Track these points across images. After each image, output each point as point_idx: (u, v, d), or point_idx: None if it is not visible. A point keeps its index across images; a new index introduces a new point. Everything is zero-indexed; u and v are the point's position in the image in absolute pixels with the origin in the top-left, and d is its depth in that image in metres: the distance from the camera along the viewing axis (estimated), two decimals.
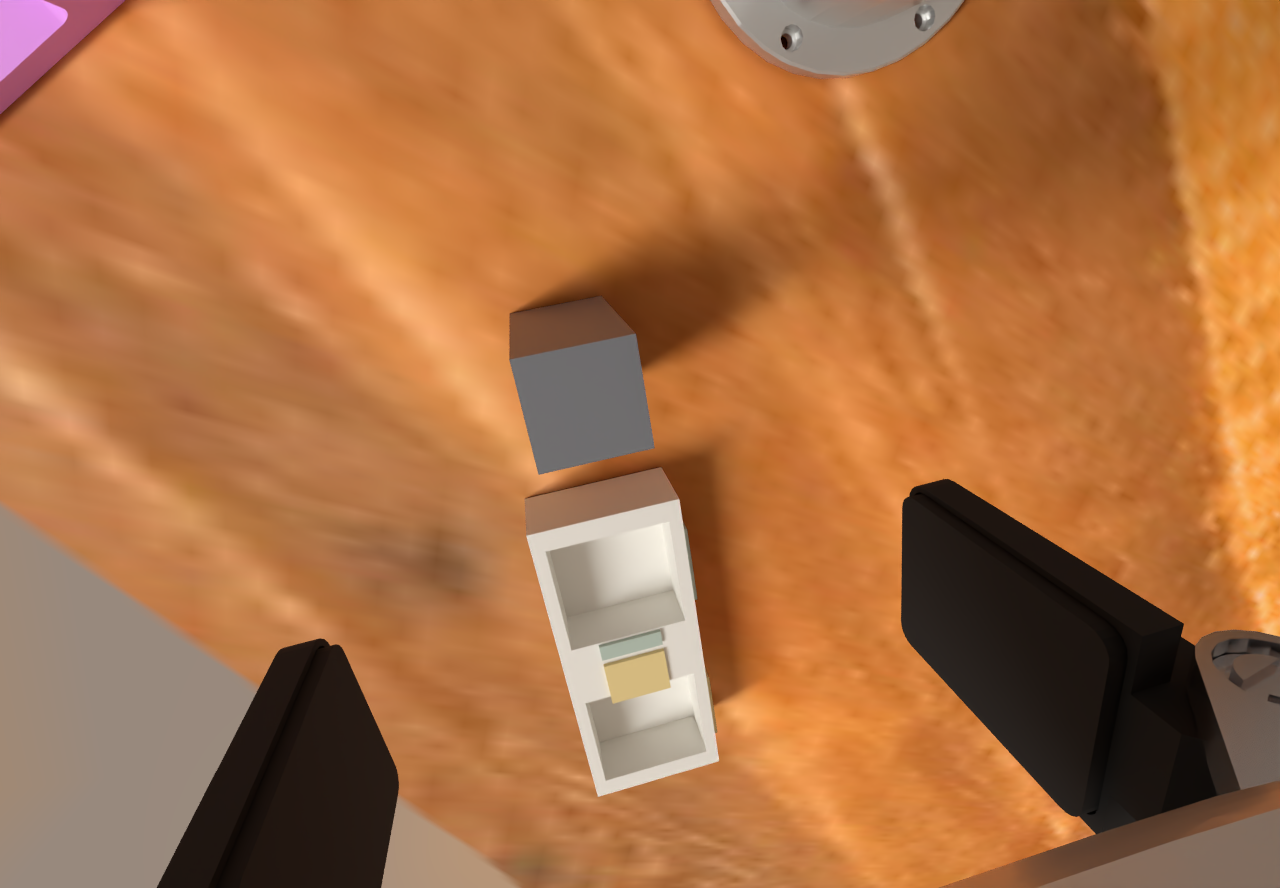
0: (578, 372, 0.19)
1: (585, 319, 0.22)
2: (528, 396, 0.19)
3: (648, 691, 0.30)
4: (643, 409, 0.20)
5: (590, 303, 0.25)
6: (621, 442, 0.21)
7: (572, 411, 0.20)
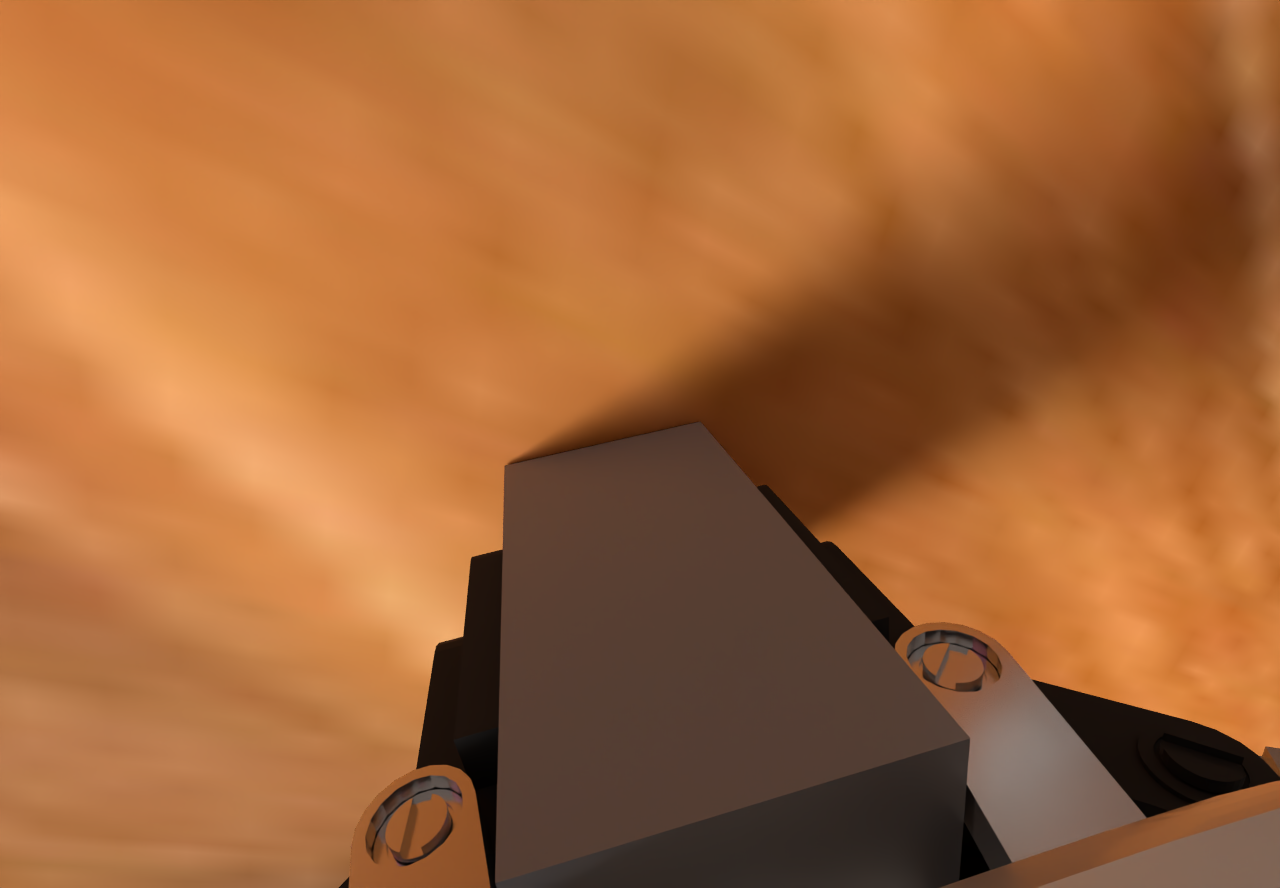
0: (752, 873, 0.05)
1: (706, 545, 0.08)
2: None
3: None
4: None
5: (687, 453, 0.11)
6: None
7: None
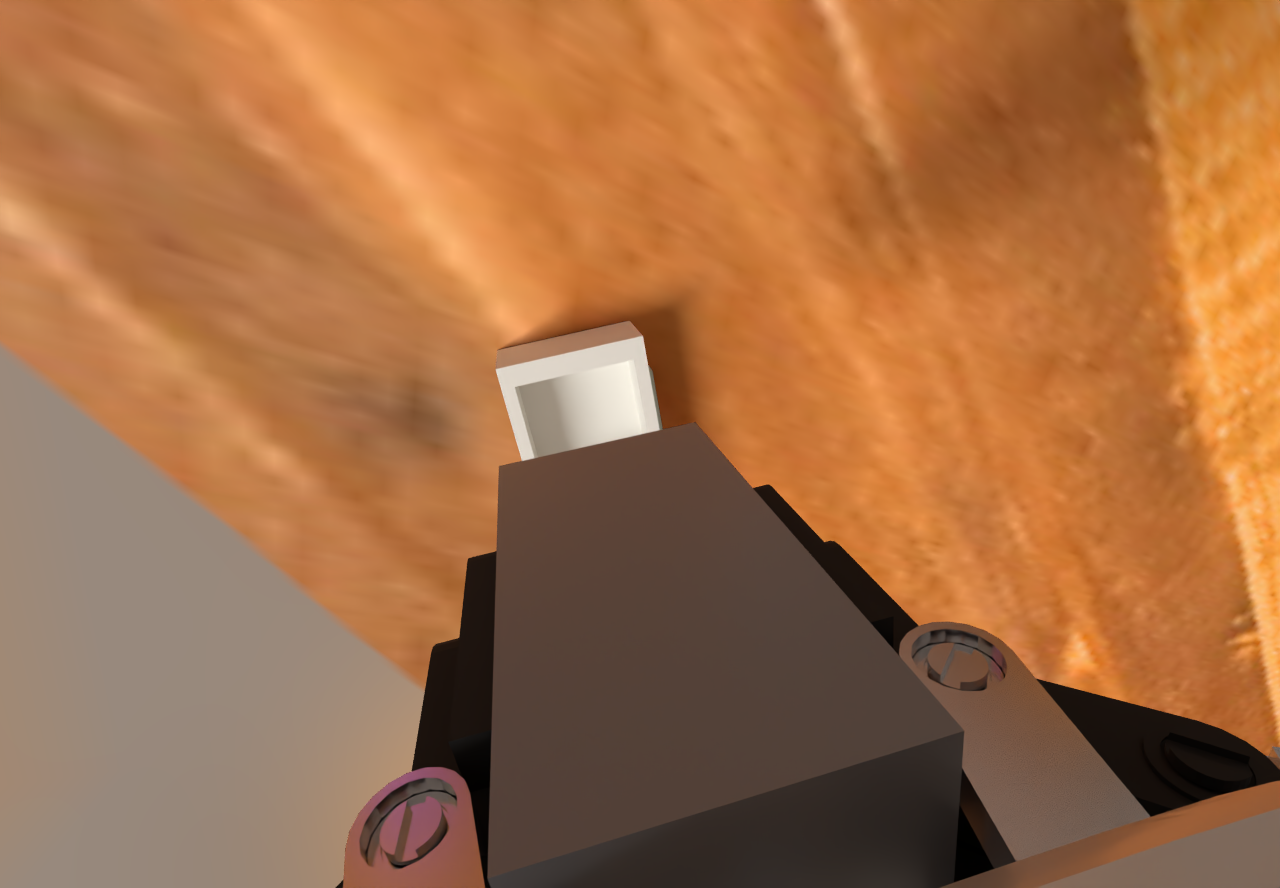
0: (747, 867, 0.05)
1: (700, 543, 0.08)
2: None
3: None
4: None
5: (682, 453, 0.11)
6: None
7: None
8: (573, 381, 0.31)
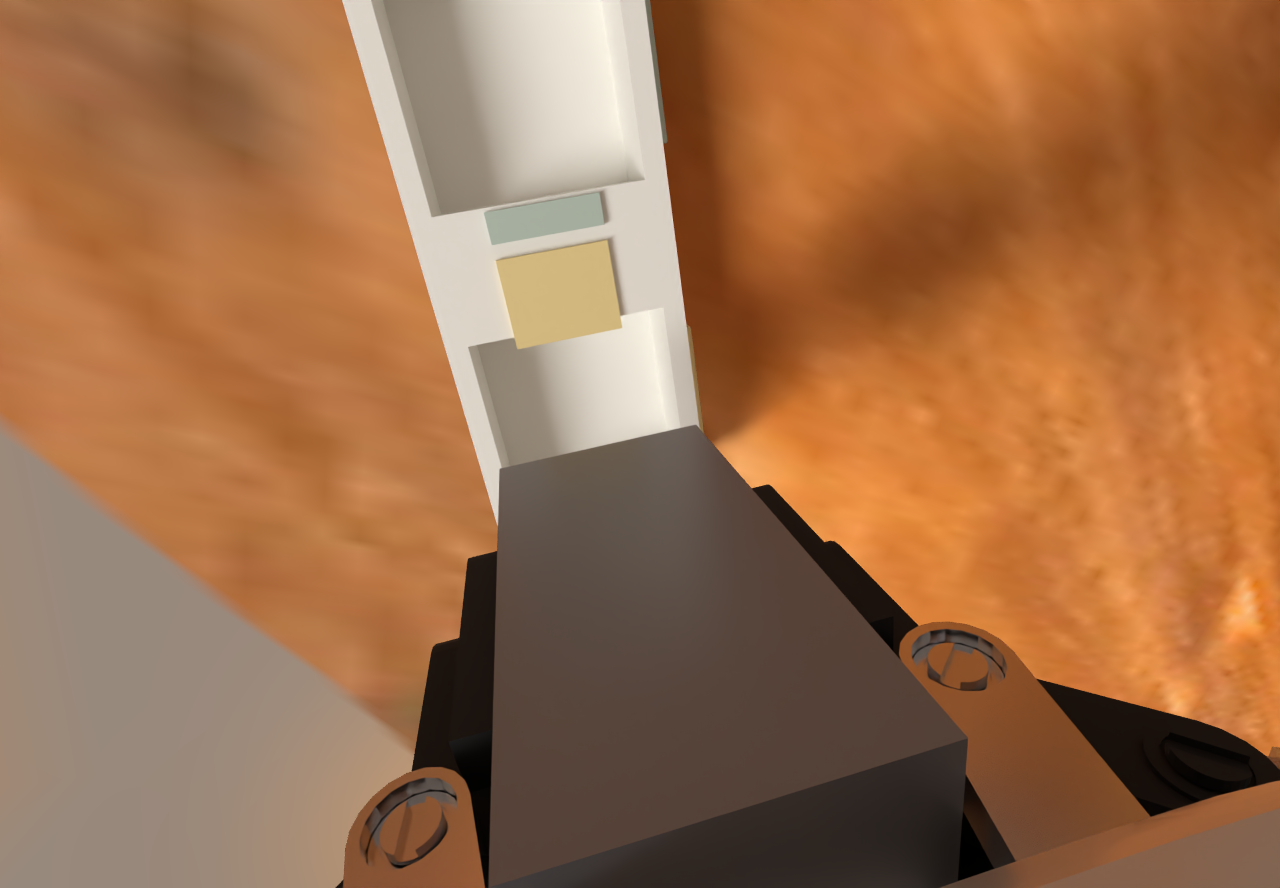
0: (748, 876, 0.05)
1: (702, 547, 0.08)
2: None
3: (582, 330, 0.17)
4: None
5: (683, 455, 0.11)
6: None
7: None
8: (495, 20, 0.16)
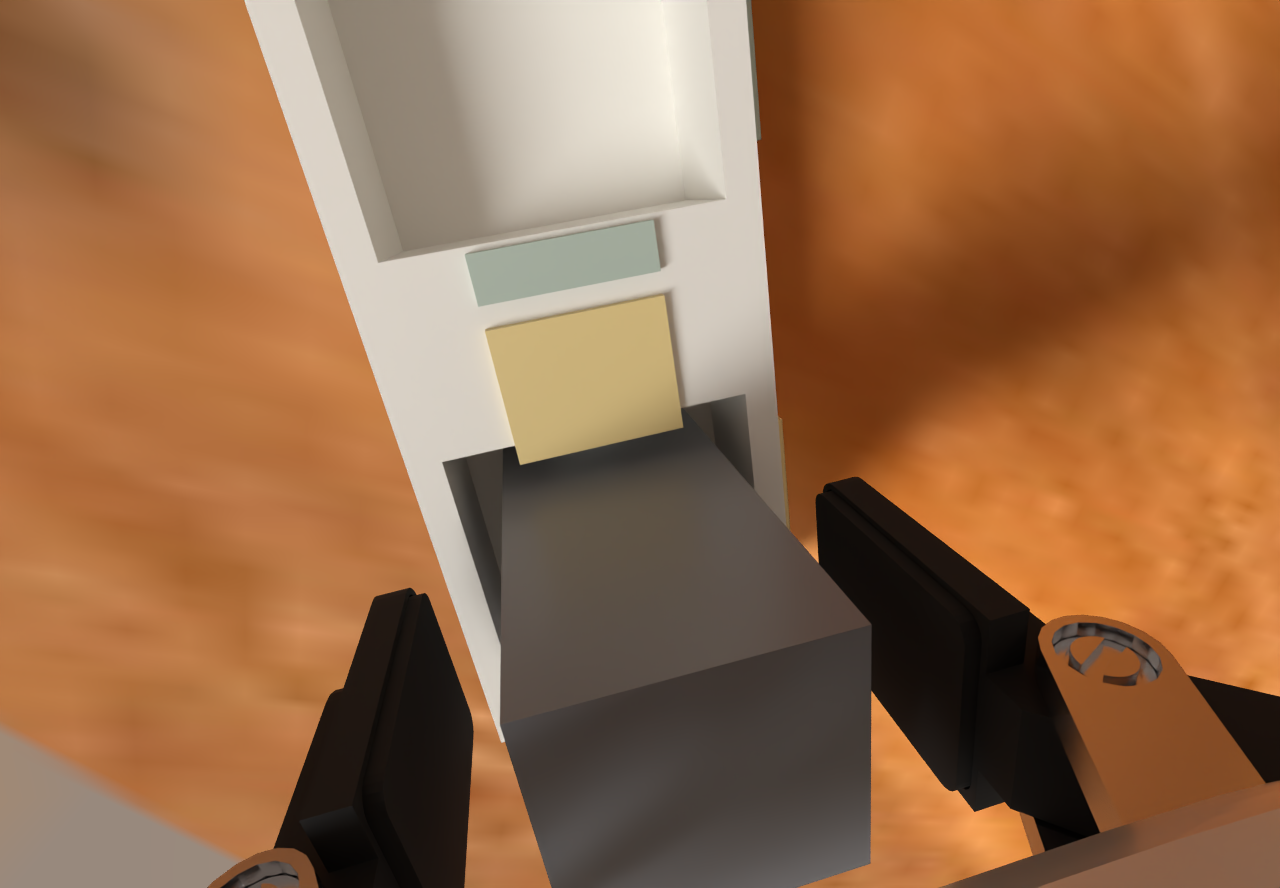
0: (701, 731, 0.07)
1: (677, 498, 0.10)
2: (553, 804, 0.07)
3: (621, 433, 0.11)
4: (859, 792, 0.08)
5: None
6: (793, 865, 0.08)
7: (674, 821, 0.07)
8: None
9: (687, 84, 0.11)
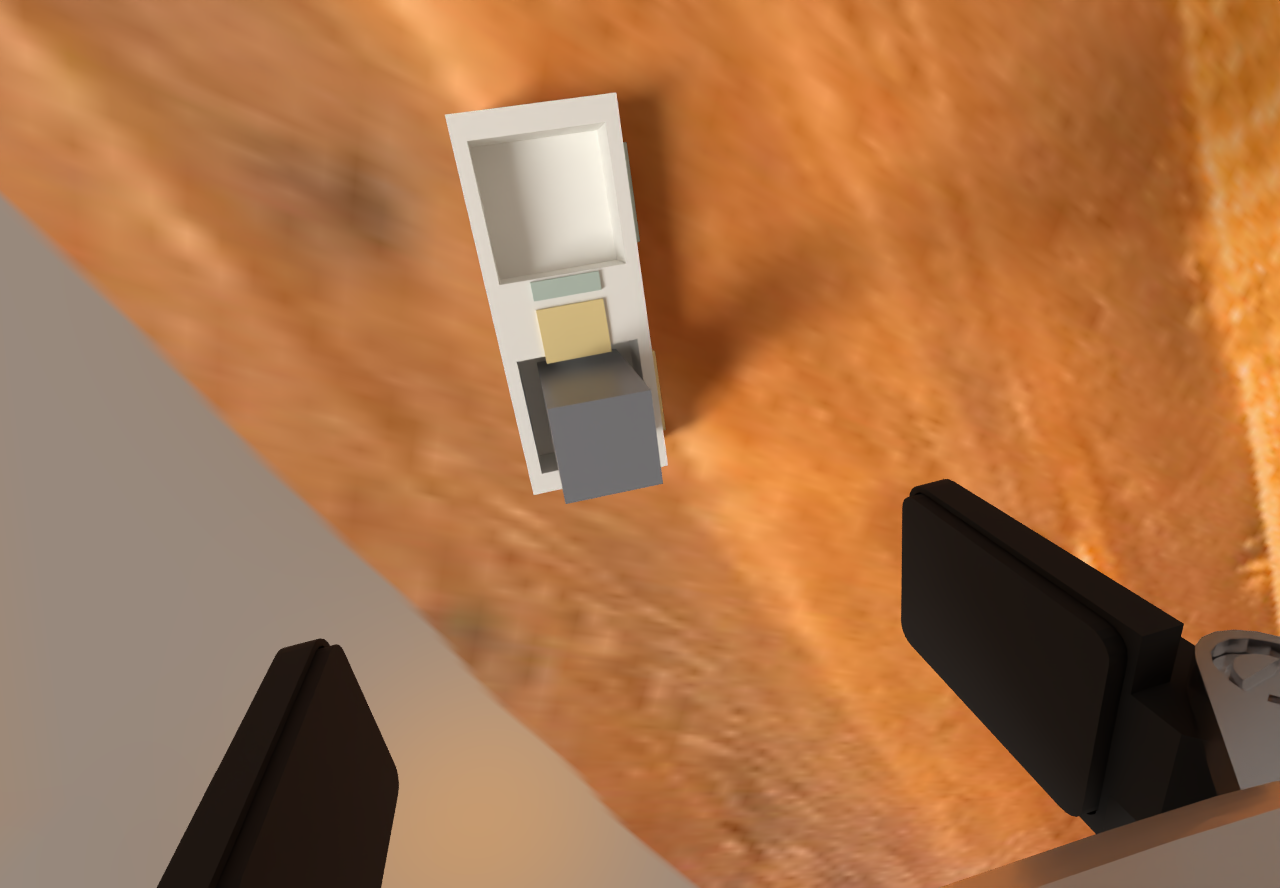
0: (602, 420, 0.23)
1: (605, 372, 0.27)
2: (560, 439, 0.23)
3: (586, 352, 0.28)
4: (654, 451, 0.24)
5: (607, 356, 0.29)
6: (636, 478, 0.25)
7: (596, 452, 0.24)
8: (537, 167, 0.27)
9: (614, 218, 0.28)
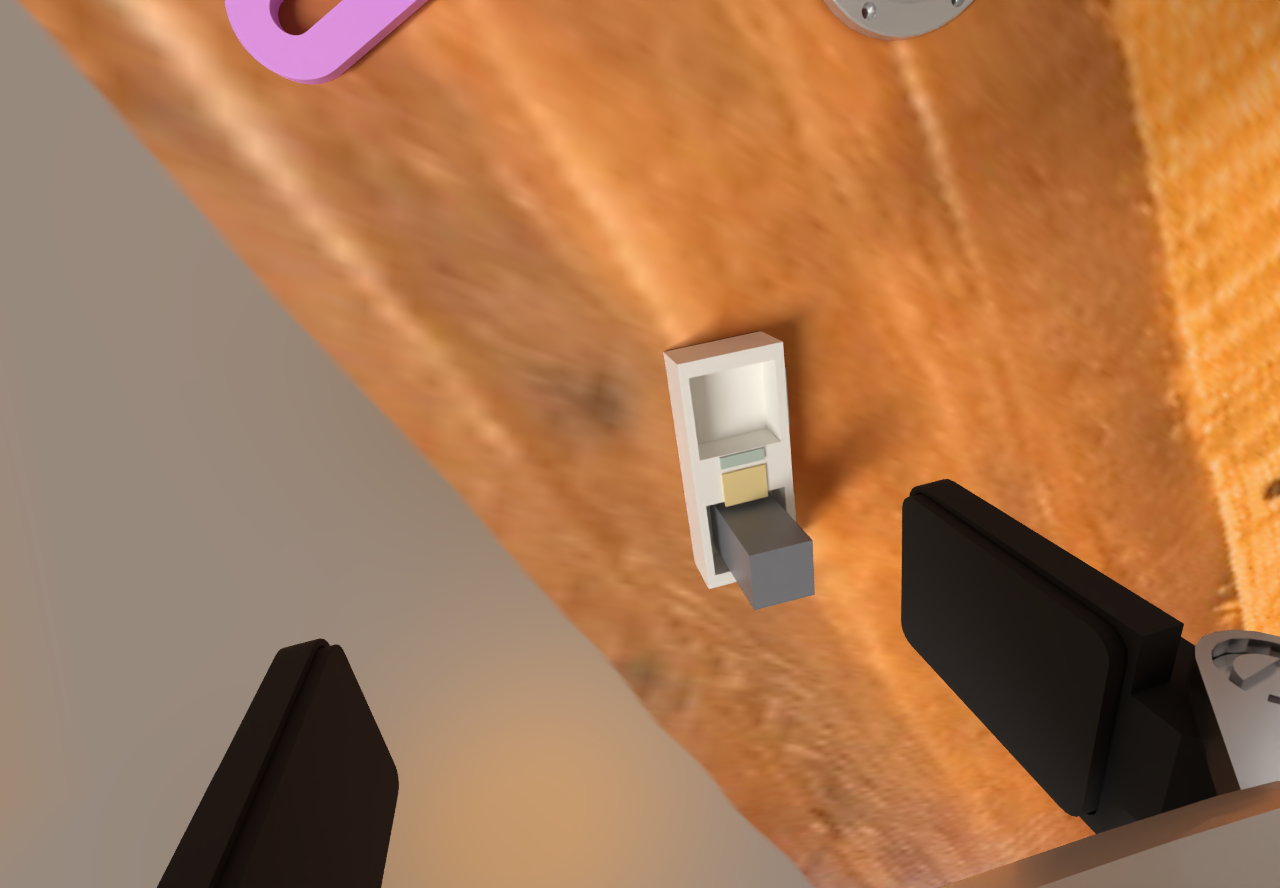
0: (781, 559, 0.37)
1: (769, 516, 0.40)
2: (755, 572, 0.37)
3: (752, 498, 0.41)
4: (811, 575, 0.38)
5: None
6: (798, 592, 0.38)
7: (775, 578, 0.37)
8: (719, 376, 0.40)
9: (770, 407, 0.41)
